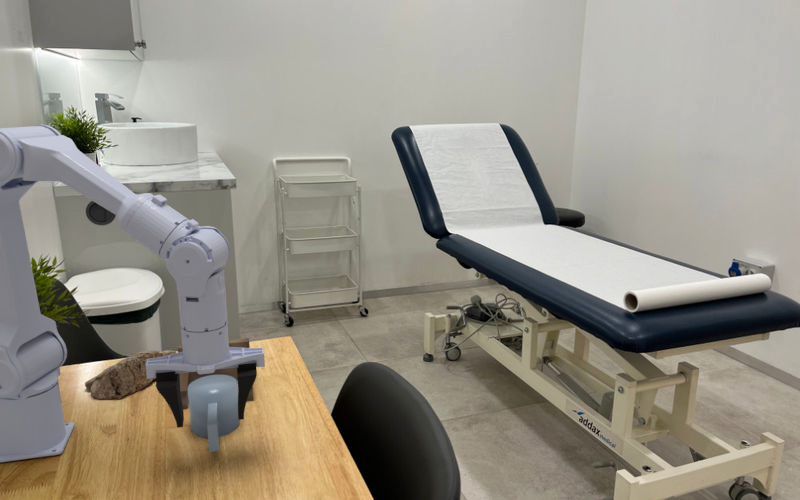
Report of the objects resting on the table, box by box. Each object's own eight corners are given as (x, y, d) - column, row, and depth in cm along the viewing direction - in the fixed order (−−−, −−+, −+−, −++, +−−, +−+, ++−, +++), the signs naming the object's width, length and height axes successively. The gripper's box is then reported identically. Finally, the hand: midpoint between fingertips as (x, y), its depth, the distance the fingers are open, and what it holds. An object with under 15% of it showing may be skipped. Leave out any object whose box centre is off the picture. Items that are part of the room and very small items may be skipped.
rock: (123, 405, 95) (119, 372, 94) (71, 396, 98) (66, 364, 97) (182, 365, 109) (180, 336, 108) (135, 358, 112) (132, 329, 111)
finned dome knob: (187, 465, 80) (183, 421, 78) (192, 416, 92) (188, 377, 90) (241, 457, 82) (238, 414, 80) (239, 410, 94) (236, 372, 92)
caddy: (177, 409, 94) (174, 368, 92) (181, 382, 102) (178, 344, 101) (253, 400, 97) (251, 360, 95) (251, 375, 105) (248, 338, 104)
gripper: (138, 341, 71) (149, 443, 74) (264, 330, 75) (268, 427, 78) (146, 320, 77) (155, 415, 81) (261, 311, 81) (265, 401, 85)
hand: (211, 419), depth 80 cm, fingers open, 7 cm apart
